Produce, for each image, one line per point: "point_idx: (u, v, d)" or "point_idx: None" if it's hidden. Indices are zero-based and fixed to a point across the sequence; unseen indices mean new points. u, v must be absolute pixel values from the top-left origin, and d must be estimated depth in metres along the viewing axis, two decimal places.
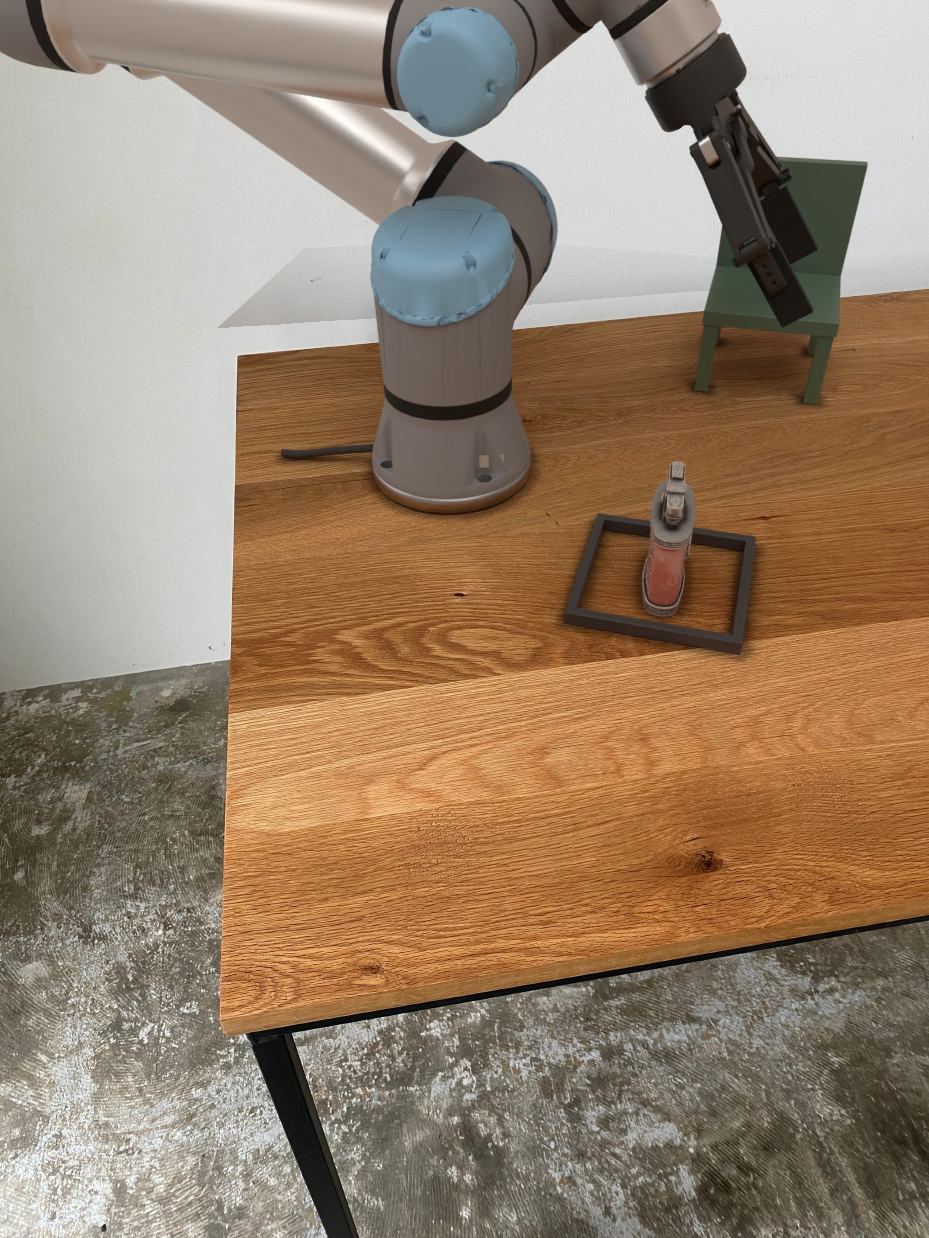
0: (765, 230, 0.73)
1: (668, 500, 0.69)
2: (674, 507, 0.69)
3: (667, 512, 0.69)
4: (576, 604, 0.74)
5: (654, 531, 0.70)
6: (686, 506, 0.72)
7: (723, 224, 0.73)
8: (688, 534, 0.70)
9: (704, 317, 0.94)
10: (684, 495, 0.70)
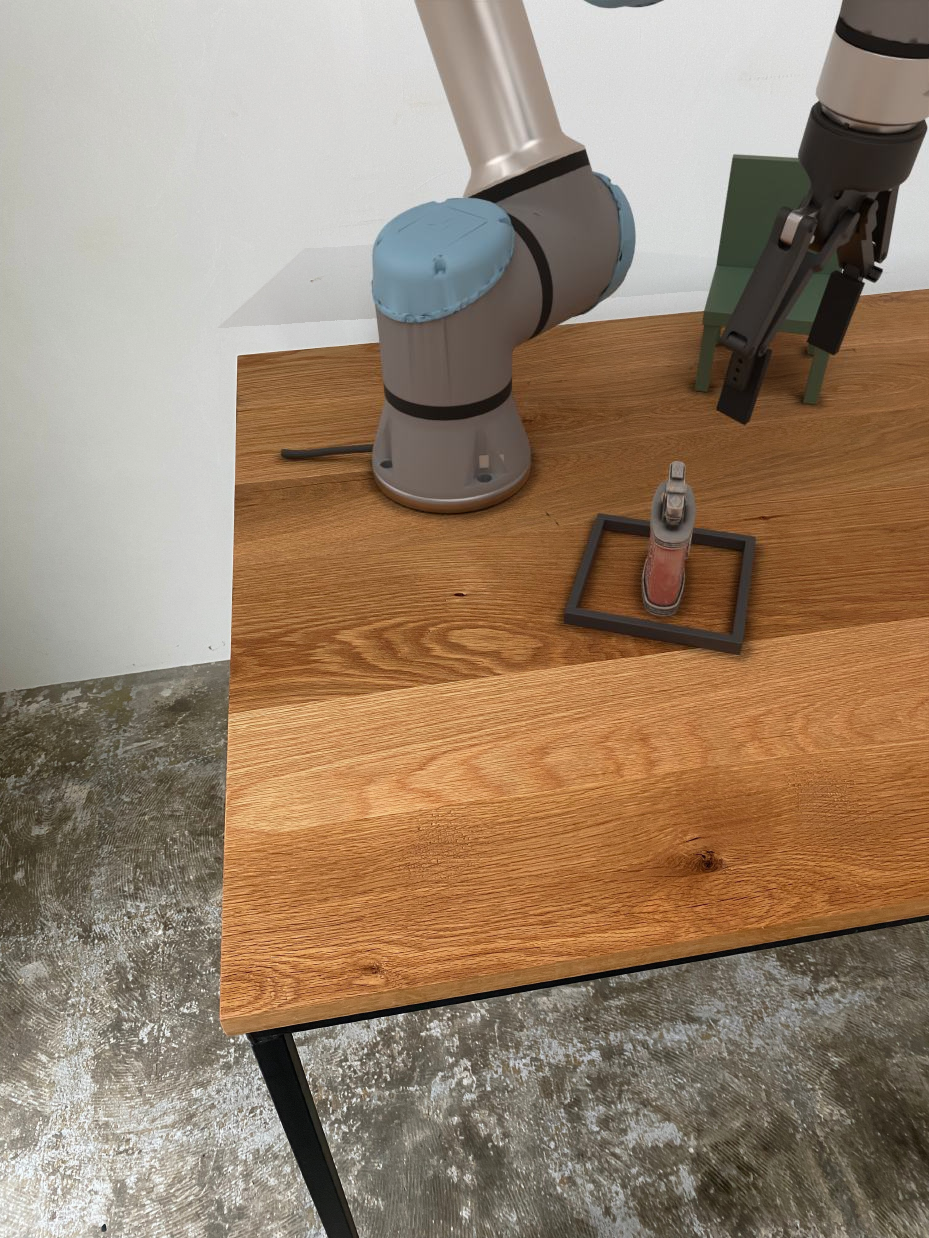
0: (767, 337, 0.67)
1: (668, 500, 0.69)
2: (674, 507, 0.69)
3: (667, 512, 0.69)
4: (576, 604, 0.74)
5: (654, 531, 0.70)
6: (686, 506, 0.72)
7: (740, 301, 0.66)
8: (688, 534, 0.70)
9: (704, 317, 0.94)
10: (684, 495, 0.70)
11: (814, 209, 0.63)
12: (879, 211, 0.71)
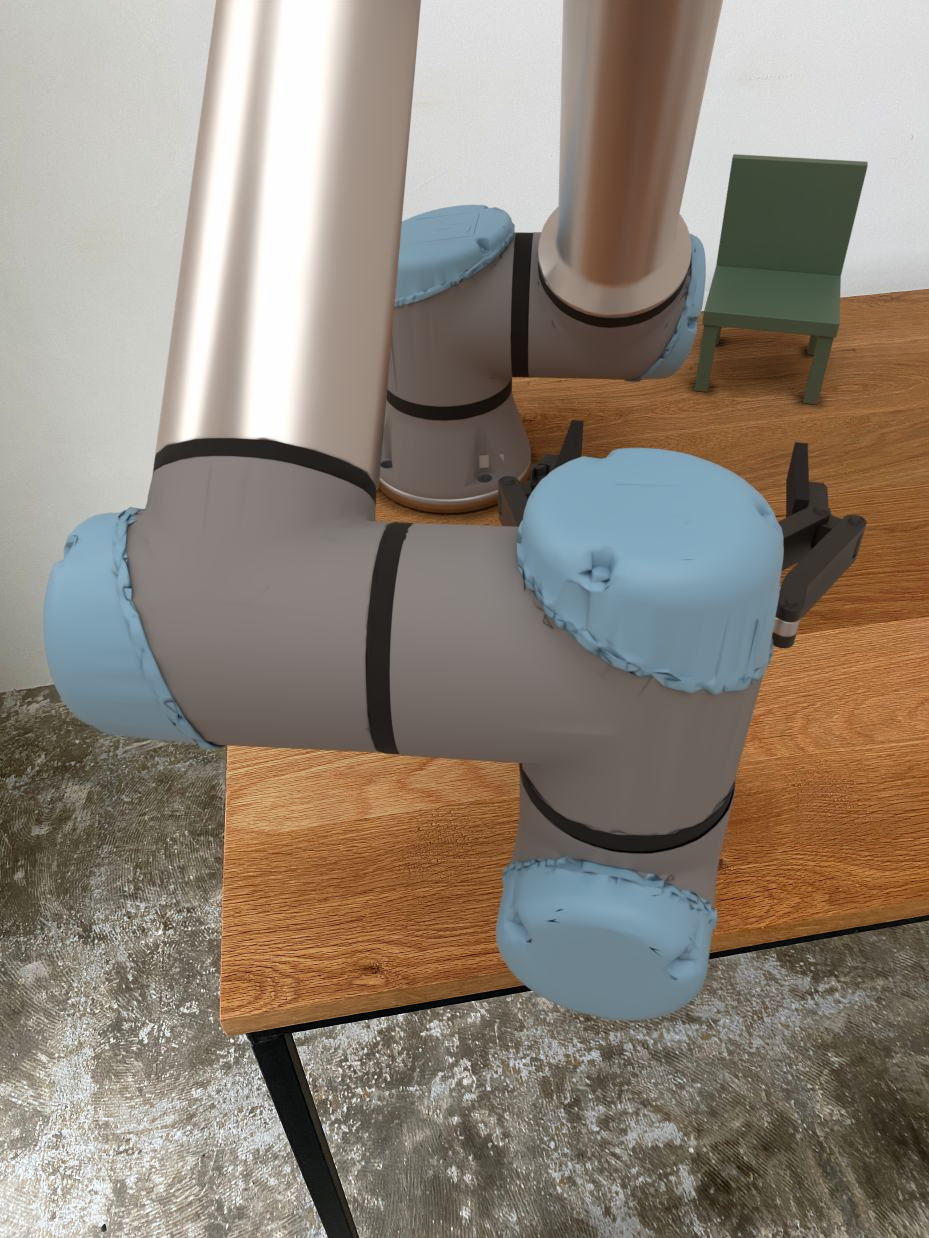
0: None
1: None
2: None
3: None
4: None
5: None
6: None
7: (509, 509, 0.52)
8: None
9: (704, 317, 0.94)
10: None
11: None
12: None
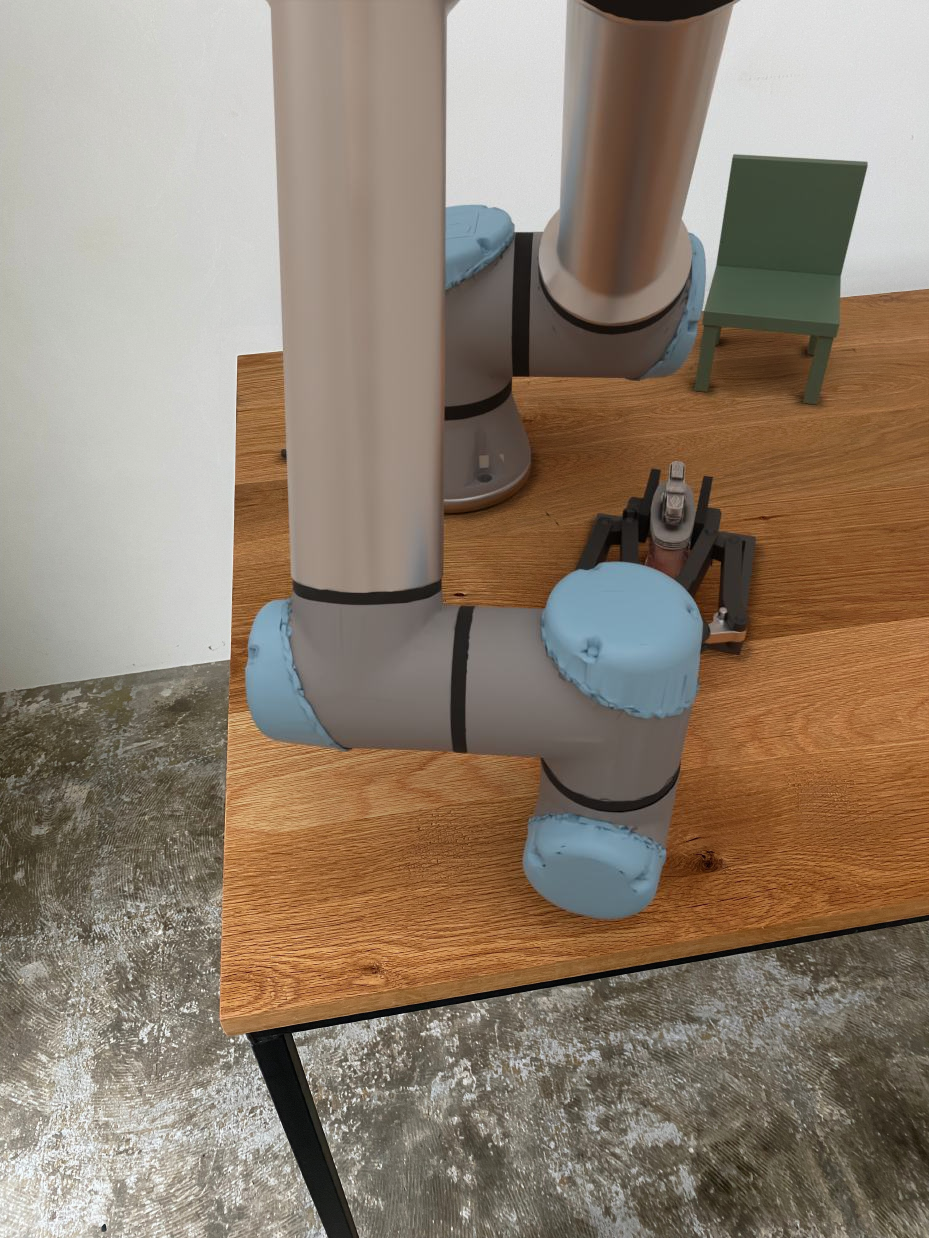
0: None
1: (668, 500, 0.69)
2: (674, 507, 0.69)
3: (667, 512, 0.69)
4: None
5: (654, 531, 0.70)
6: (686, 506, 0.72)
7: (588, 541, 0.70)
8: (688, 534, 0.70)
9: (704, 317, 0.94)
10: (684, 495, 0.70)
11: None
12: (719, 603, 0.67)
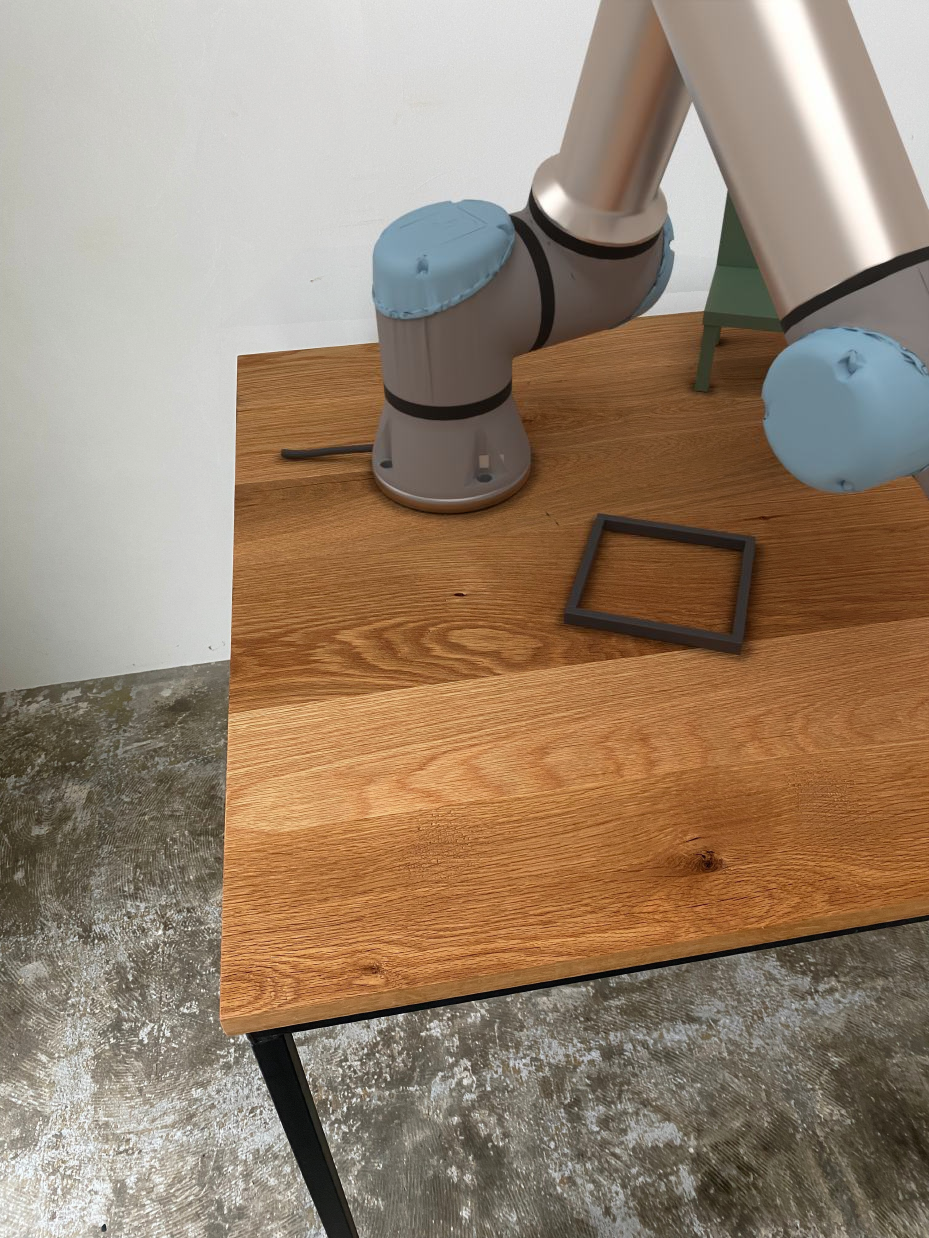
0: None
1: None
2: None
3: None
4: (576, 604, 0.74)
5: None
6: None
7: None
8: None
9: (704, 317, 0.94)
10: None
11: None
12: None
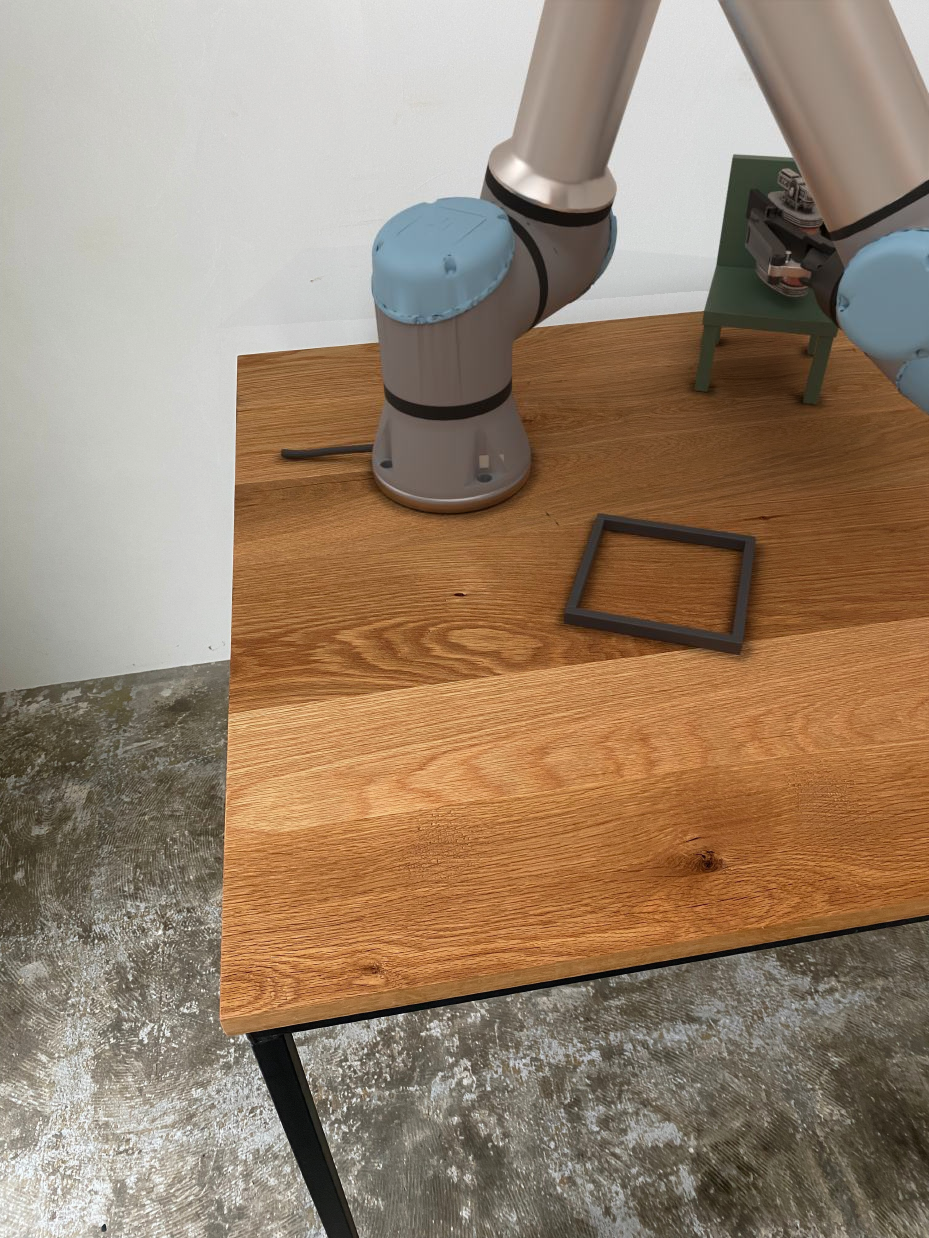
0: None
1: (804, 188, 0.87)
2: None
3: (807, 197, 0.87)
4: (576, 604, 0.74)
5: (797, 217, 0.88)
6: None
7: (757, 232, 0.86)
8: None
9: (704, 317, 0.94)
10: None
11: (796, 274, 0.82)
12: None
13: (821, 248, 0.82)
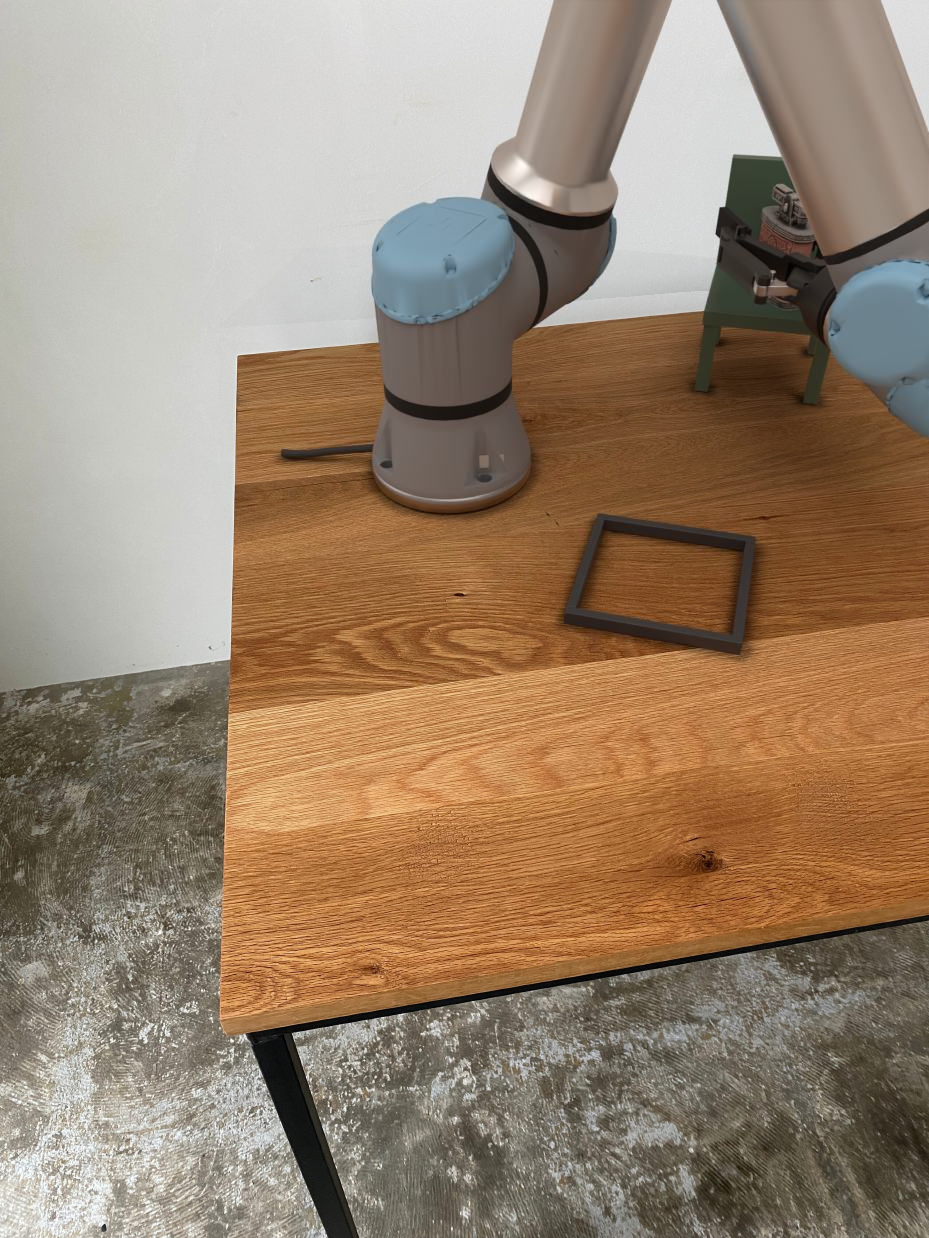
0: None
1: (798, 204, 0.88)
2: None
3: (801, 212, 0.88)
4: (576, 604, 0.74)
5: (792, 232, 0.89)
6: None
7: (733, 252, 0.87)
8: None
9: (704, 317, 0.94)
10: None
11: (783, 293, 0.83)
12: None
13: (806, 266, 0.83)
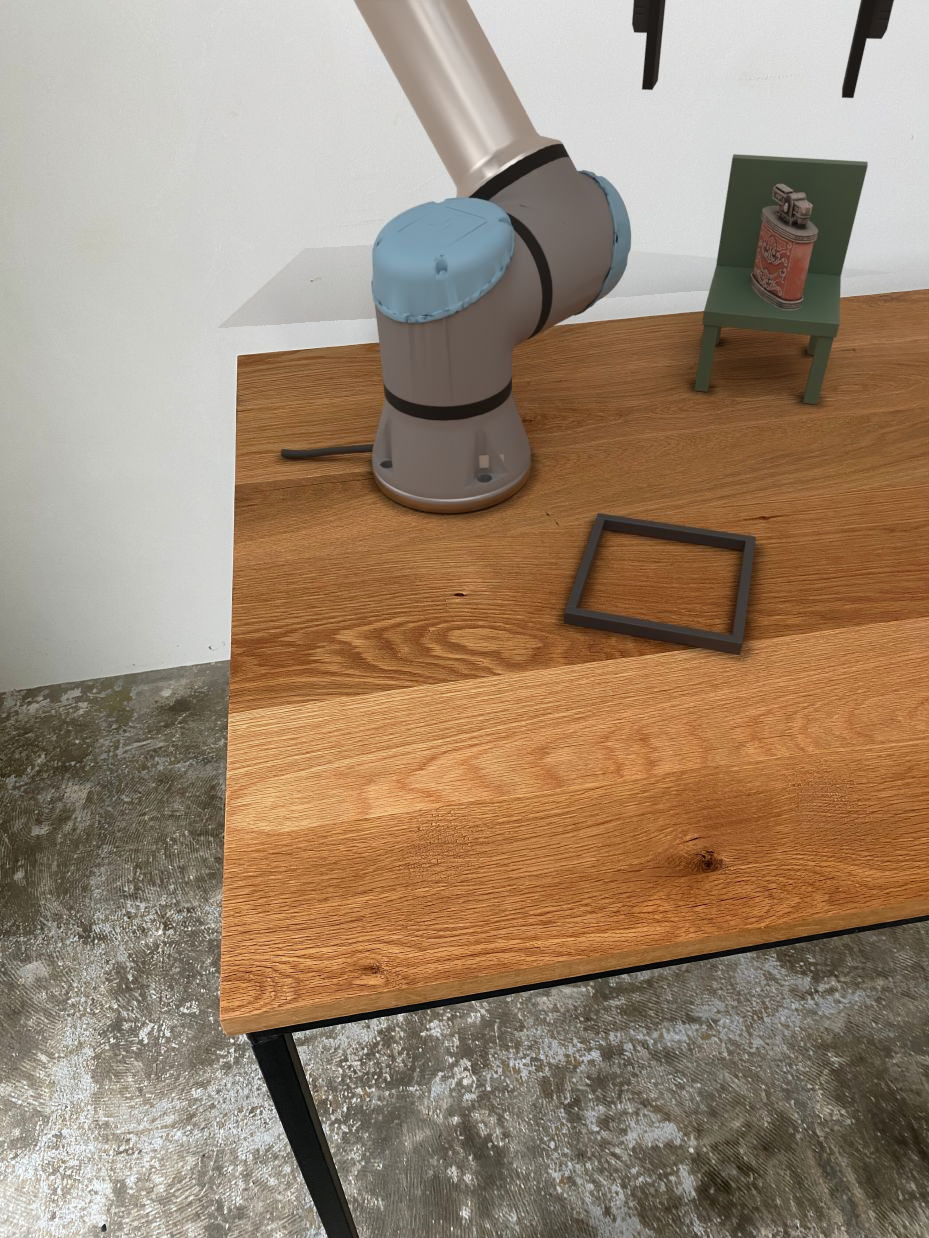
0: None
1: (798, 204, 0.88)
2: (807, 206, 0.88)
3: (801, 212, 0.88)
4: (576, 604, 0.74)
5: (792, 232, 0.89)
6: None
7: None
8: (816, 229, 0.89)
9: (704, 317, 0.94)
10: (805, 199, 0.89)
11: None
12: None
13: None
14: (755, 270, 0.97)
